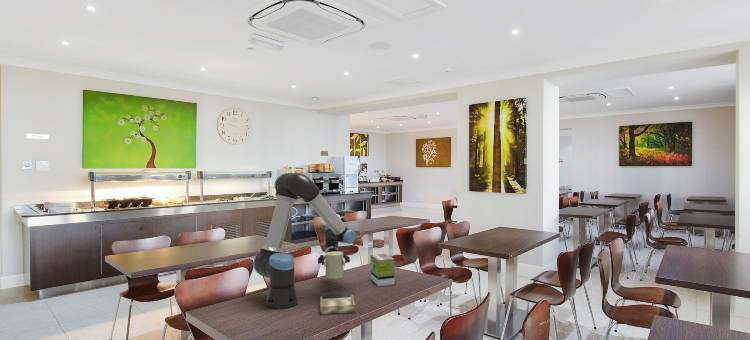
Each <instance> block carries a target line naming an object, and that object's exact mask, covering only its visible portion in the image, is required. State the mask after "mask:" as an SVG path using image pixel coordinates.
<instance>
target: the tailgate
mask: <svg viewBox="0 0 750 340" xmlns="http://www.w3.org/2000/svg"><path fill="white" fill-rule="evenodd" d="M350 299H351V296H348V297H334V298H333V297H330V298H329V297H327V298H322V301H332V300H350Z"/></svg>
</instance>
